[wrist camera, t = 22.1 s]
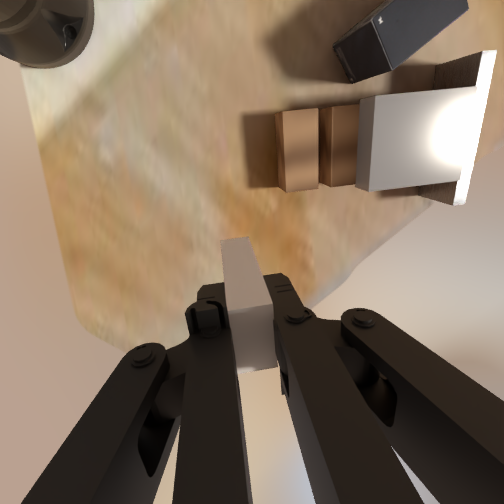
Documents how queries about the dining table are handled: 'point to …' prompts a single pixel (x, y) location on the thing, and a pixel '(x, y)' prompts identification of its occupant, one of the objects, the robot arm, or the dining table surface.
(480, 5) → the dining table surface
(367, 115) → the slab
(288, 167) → the bed
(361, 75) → the small box
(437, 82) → the bar
